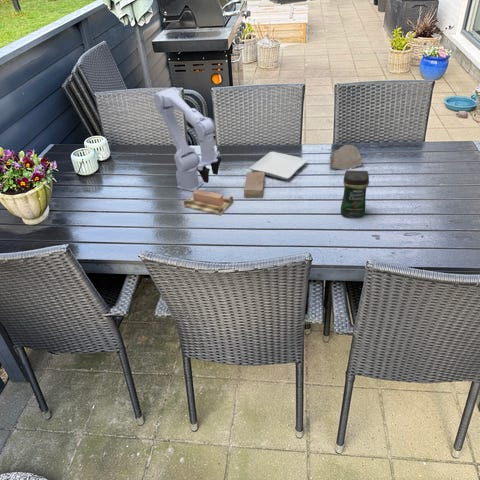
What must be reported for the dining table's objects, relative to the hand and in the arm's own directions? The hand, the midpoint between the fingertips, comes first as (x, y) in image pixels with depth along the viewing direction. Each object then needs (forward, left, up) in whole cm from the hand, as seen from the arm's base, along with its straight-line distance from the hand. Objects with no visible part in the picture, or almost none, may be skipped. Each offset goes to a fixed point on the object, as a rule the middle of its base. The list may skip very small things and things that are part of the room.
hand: (210, 178), depth 192 cm
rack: (+2, -6, -10) cm, 11 cm away
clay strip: (+2, -6, -9) cm, 11 cm away
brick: (+14, +14, -10) cm, 22 cm away
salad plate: (+16, +35, -10) cm, 40 cm away
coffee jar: (+60, +10, -10) cm, 61 cm away
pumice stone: (+45, +49, -10) cm, 67 cm away
